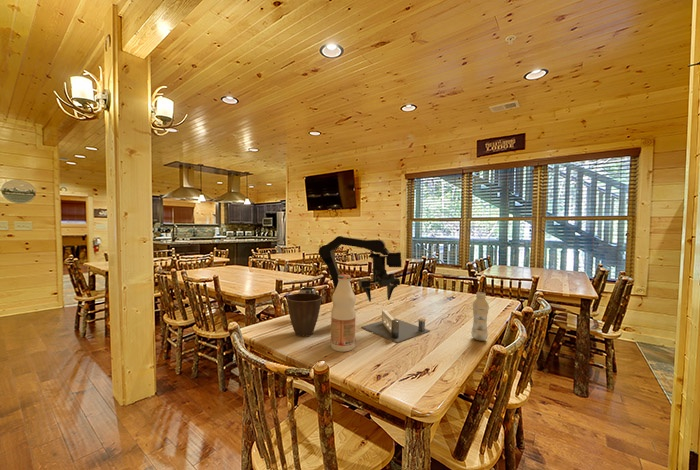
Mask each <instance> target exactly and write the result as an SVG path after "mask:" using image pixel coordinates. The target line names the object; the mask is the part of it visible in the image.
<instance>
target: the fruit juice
mask: <svg viewBox="0 0 700 470" xmlns="http://www.w3.org/2000/svg"><path fill="white" fill-rule="evenodd" d="M338 280H339V282H338V284H337V287H336V288H335V290H334V293H333V294H332V296H331V302H332V308H331V312H330V318H331V319H330V347H331V349H332V350H334V351H336V352H341V353H342V352H350V351H352V350H354V349H355V346H356V316H357V315H356V308H355V304H356V294H355V293H354V290H353V288H352V284H351V275H350V274H340V275H338Z"/></svg>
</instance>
